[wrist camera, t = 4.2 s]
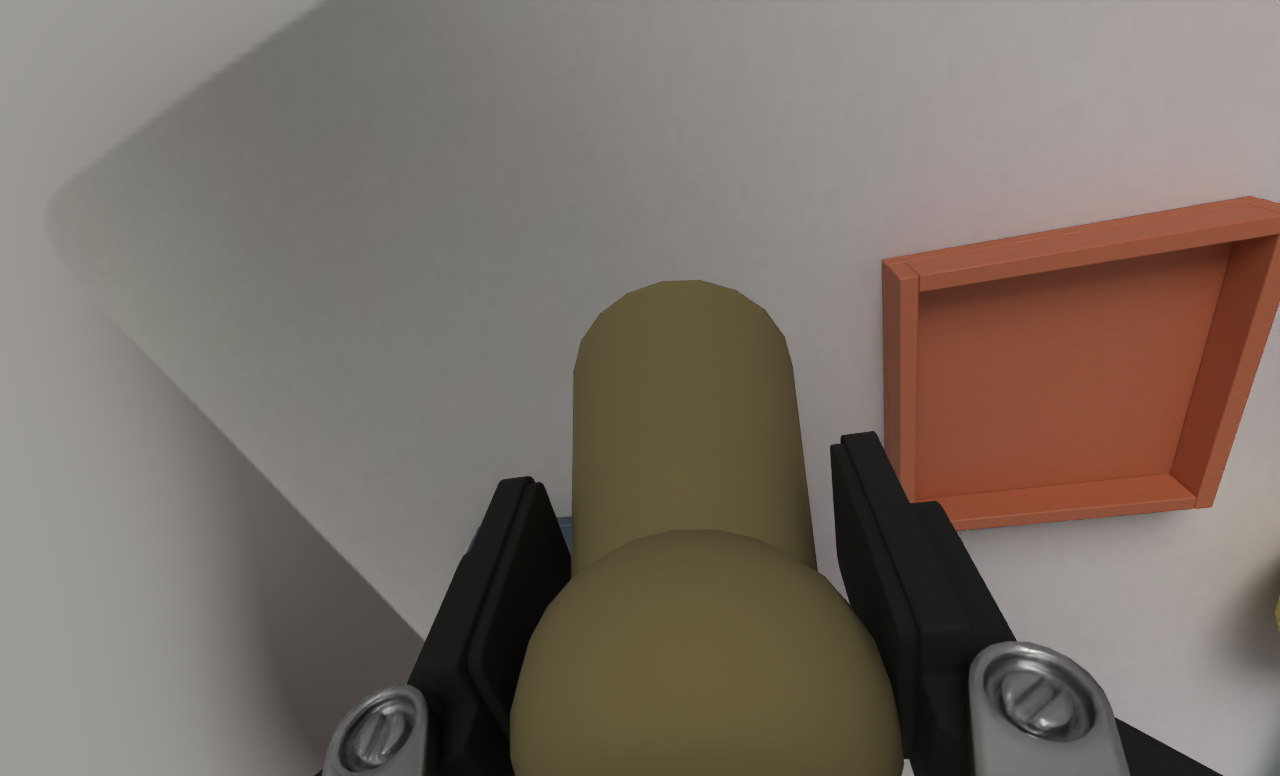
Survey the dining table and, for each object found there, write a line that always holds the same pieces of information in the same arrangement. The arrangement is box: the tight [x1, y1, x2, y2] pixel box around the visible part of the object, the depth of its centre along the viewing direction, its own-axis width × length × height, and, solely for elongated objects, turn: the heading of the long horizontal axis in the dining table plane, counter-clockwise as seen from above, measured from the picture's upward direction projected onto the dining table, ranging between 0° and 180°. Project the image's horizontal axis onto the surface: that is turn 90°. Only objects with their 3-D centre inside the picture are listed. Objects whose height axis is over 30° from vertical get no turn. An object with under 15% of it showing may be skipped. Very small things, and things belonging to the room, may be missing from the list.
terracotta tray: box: [882, 196, 1280, 531], centre depth 21 cm, size 11×11×2 cm
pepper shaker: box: [510, 280, 904, 776], centre depth 11 cm, size 6×6×11 cm
